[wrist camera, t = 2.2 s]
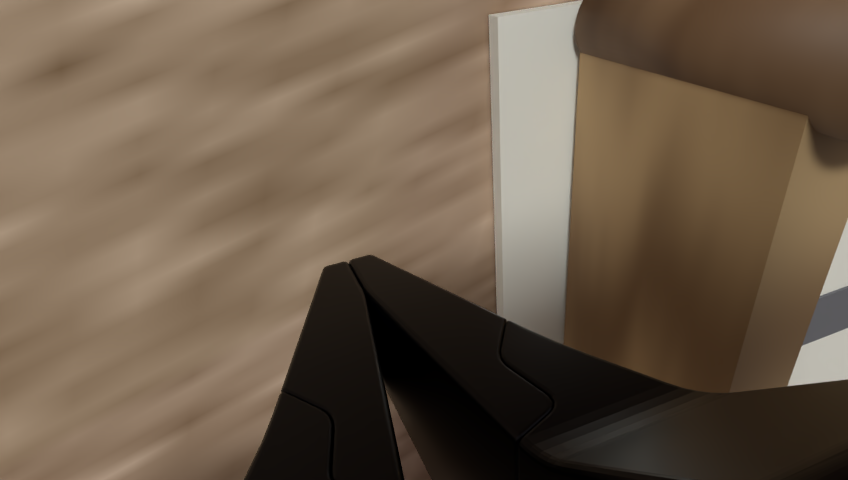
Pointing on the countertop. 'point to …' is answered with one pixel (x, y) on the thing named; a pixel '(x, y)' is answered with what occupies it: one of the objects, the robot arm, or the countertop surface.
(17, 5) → the countertop surface
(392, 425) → the robot arm
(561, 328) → the card
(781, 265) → the gate panel
